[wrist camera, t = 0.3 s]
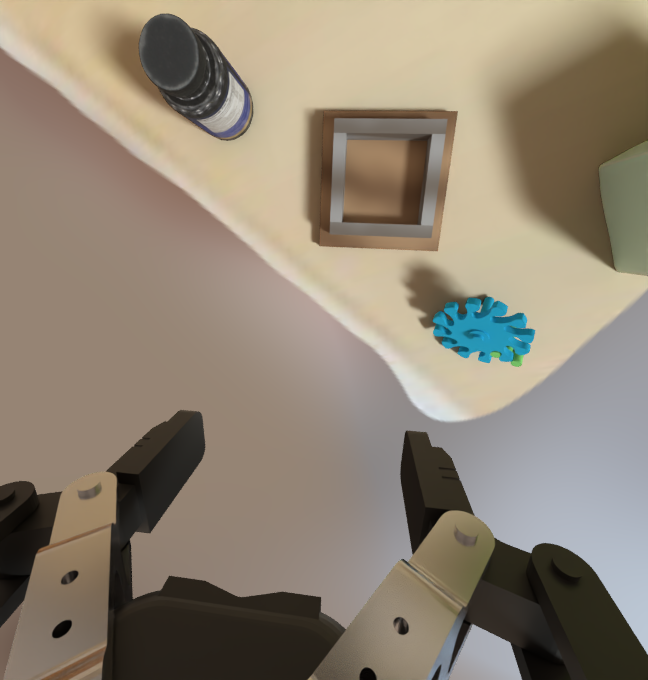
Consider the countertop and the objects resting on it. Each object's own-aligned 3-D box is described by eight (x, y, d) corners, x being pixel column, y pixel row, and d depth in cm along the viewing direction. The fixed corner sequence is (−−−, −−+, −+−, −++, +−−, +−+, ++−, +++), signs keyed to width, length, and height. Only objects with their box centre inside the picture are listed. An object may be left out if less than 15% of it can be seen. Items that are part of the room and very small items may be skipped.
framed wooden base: (325, 115, 33) (321, 102, 30) (454, 115, 32) (464, 102, 29) (320, 245, 37) (316, 246, 34) (435, 250, 36) (442, 252, 33)
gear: (412, 325, 37) (488, 294, 28) (427, 289, 40) (501, 251, 31) (475, 377, 40) (562, 364, 31) (485, 340, 42) (569, 318, 34)
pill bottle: (189, 93, 34) (112, 28, 23) (238, 62, 32) (180, -22, 22) (217, 152, 35) (156, 116, 25) (265, 125, 34) (222, 75, 23)
